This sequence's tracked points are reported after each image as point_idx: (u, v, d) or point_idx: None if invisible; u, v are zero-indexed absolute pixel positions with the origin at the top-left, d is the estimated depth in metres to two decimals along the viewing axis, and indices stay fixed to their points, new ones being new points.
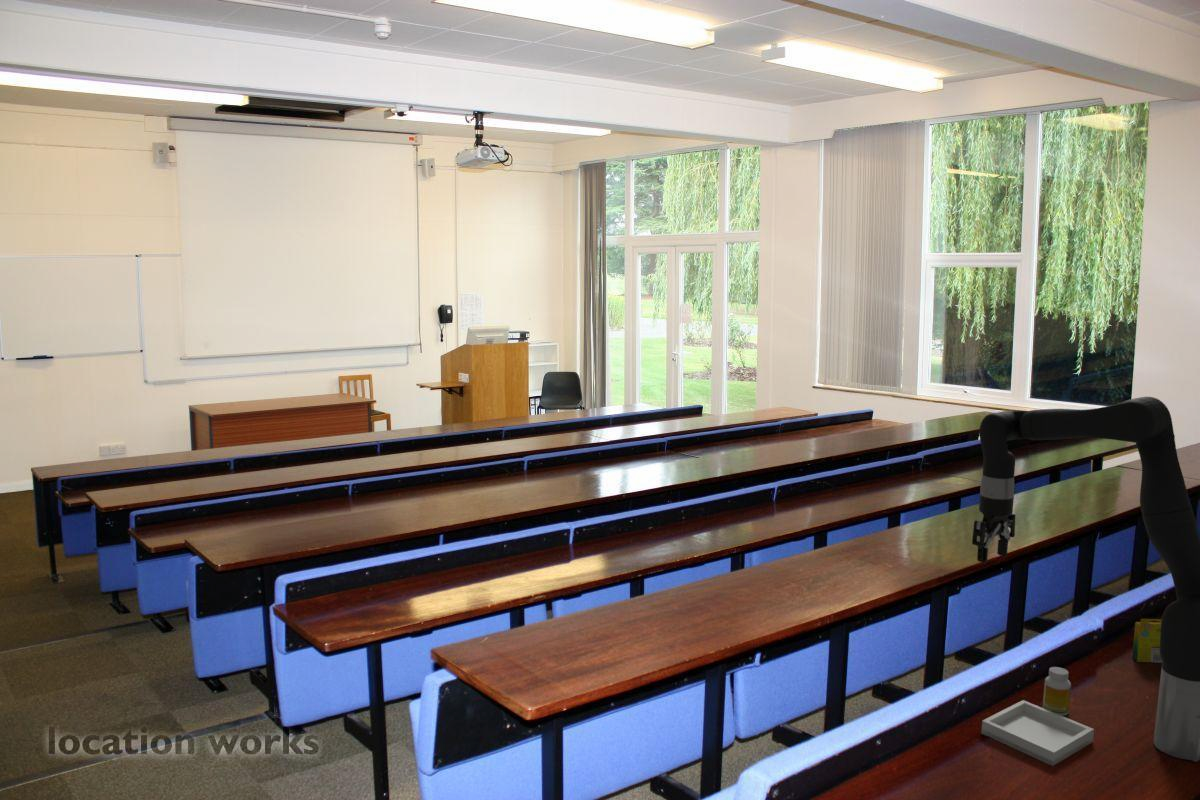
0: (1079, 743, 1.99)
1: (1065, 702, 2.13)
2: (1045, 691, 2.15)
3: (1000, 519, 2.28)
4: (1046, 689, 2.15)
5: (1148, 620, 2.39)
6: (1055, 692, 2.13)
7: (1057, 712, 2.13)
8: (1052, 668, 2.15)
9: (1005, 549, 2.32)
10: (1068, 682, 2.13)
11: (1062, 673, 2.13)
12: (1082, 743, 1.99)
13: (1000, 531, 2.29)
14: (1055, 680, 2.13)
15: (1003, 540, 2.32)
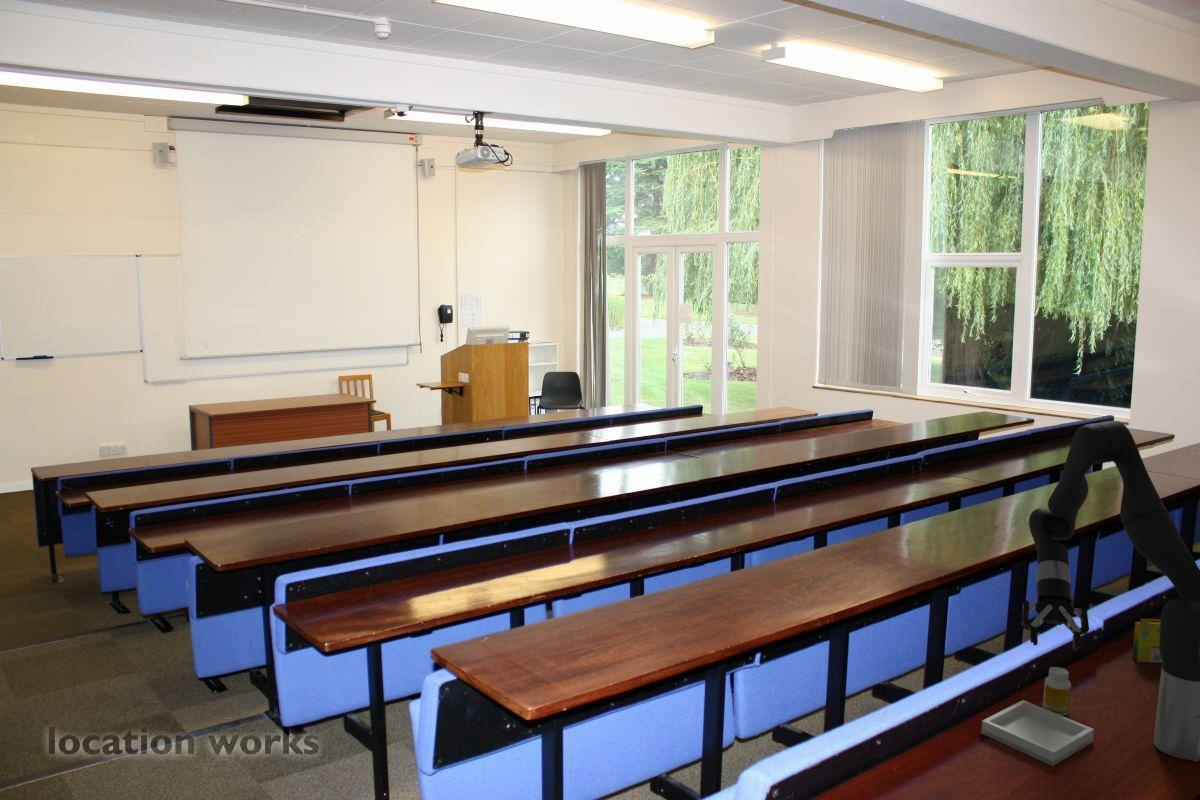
0: (1079, 743, 1.99)
1: (1065, 702, 2.13)
2: (1045, 691, 2.15)
3: (1057, 605, 2.26)
4: (1046, 689, 2.15)
5: (1148, 620, 2.39)
6: (1055, 692, 2.13)
7: (1057, 712, 2.13)
8: (1052, 668, 2.15)
9: (1074, 640, 2.20)
10: (1068, 682, 2.13)
11: (1062, 673, 2.13)
12: (1082, 743, 1.99)
13: (1059, 617, 2.24)
14: (1055, 680, 2.13)
15: (1074, 633, 2.22)
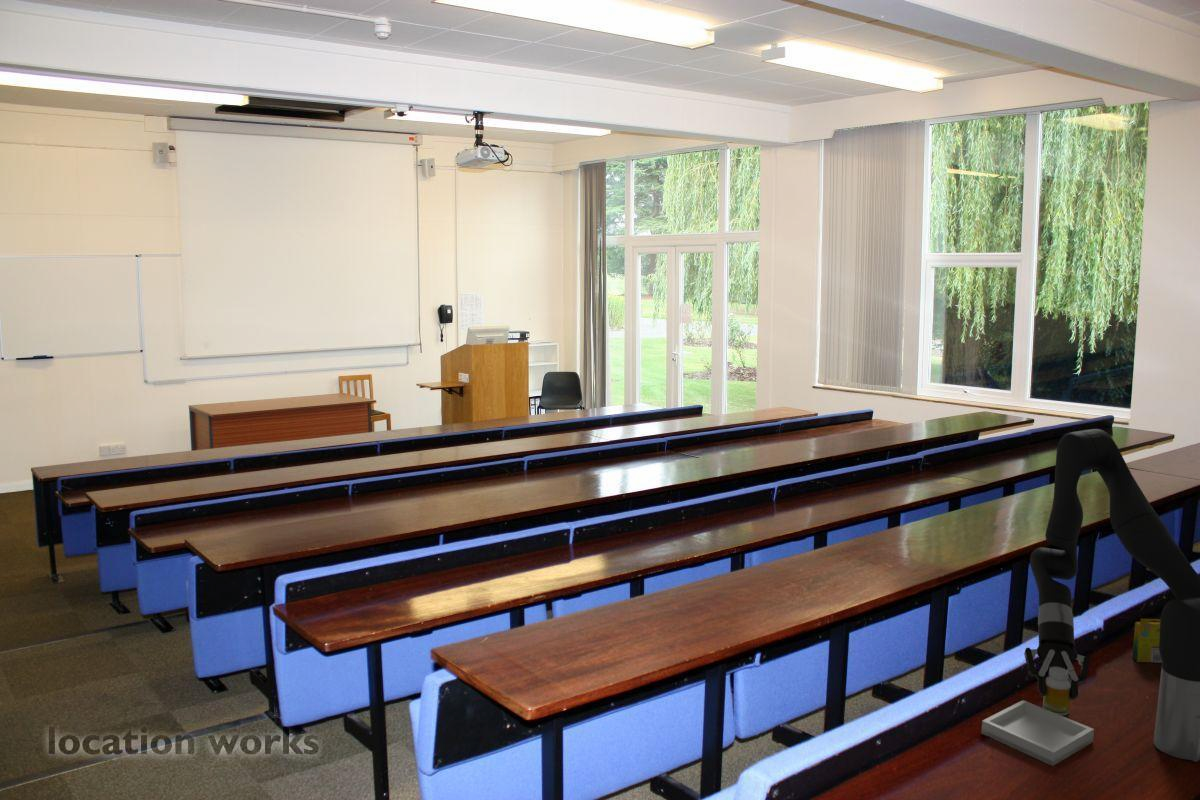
0: (1079, 743, 1.99)
1: (1065, 702, 2.13)
2: None
3: (1059, 650, 2.18)
4: (1046, 689, 2.15)
5: (1148, 620, 2.39)
6: (1055, 692, 2.13)
7: (1057, 712, 2.13)
8: (1052, 668, 2.15)
9: (1071, 689, 2.13)
10: (1068, 682, 2.13)
11: (1062, 673, 2.13)
12: (1082, 743, 1.99)
13: (1059, 662, 2.17)
14: (1055, 680, 2.13)
15: None
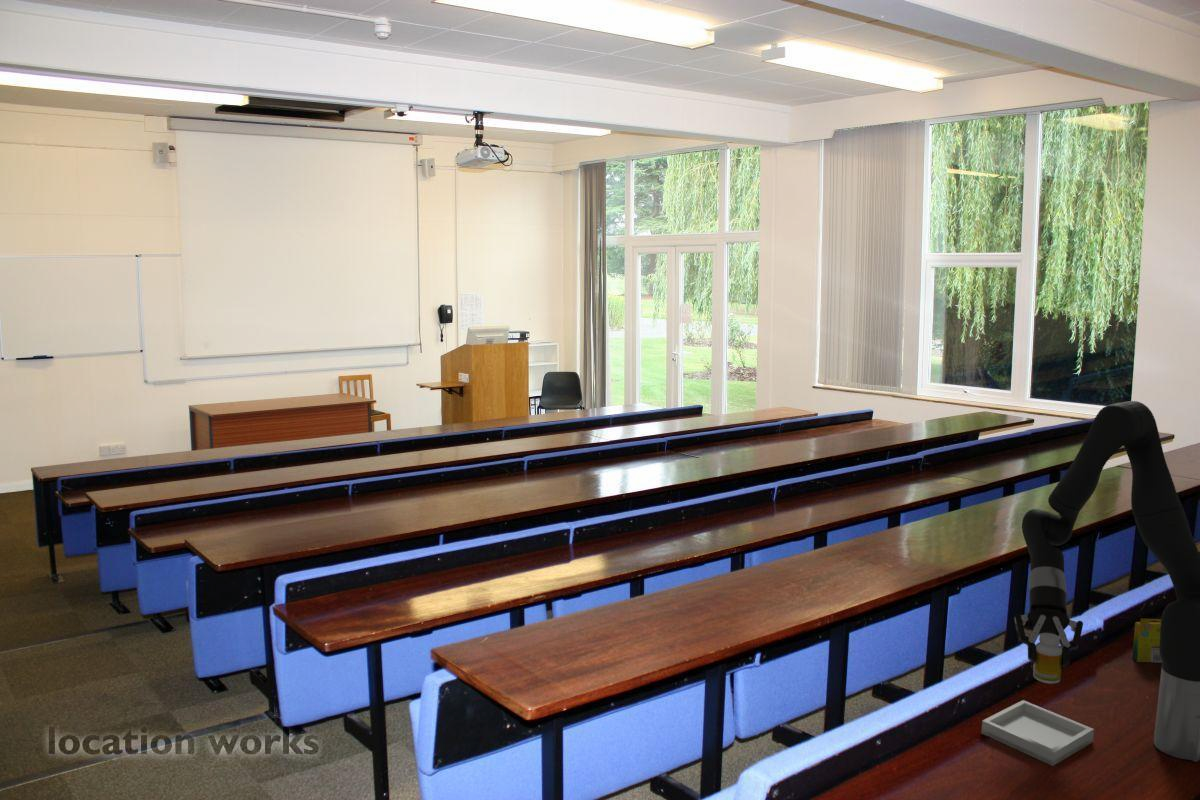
0: (1079, 743, 1.99)
1: (1056, 669, 2.03)
2: None
3: (1051, 615, 2.08)
4: (1036, 656, 2.05)
5: (1148, 620, 2.39)
6: (1046, 659, 2.03)
7: (1048, 680, 2.03)
8: (1043, 634, 2.05)
9: (1063, 656, 2.03)
10: (1059, 648, 2.03)
11: (1053, 639, 2.03)
12: (1082, 743, 1.99)
13: (1050, 628, 2.07)
14: (1046, 646, 2.03)
15: None
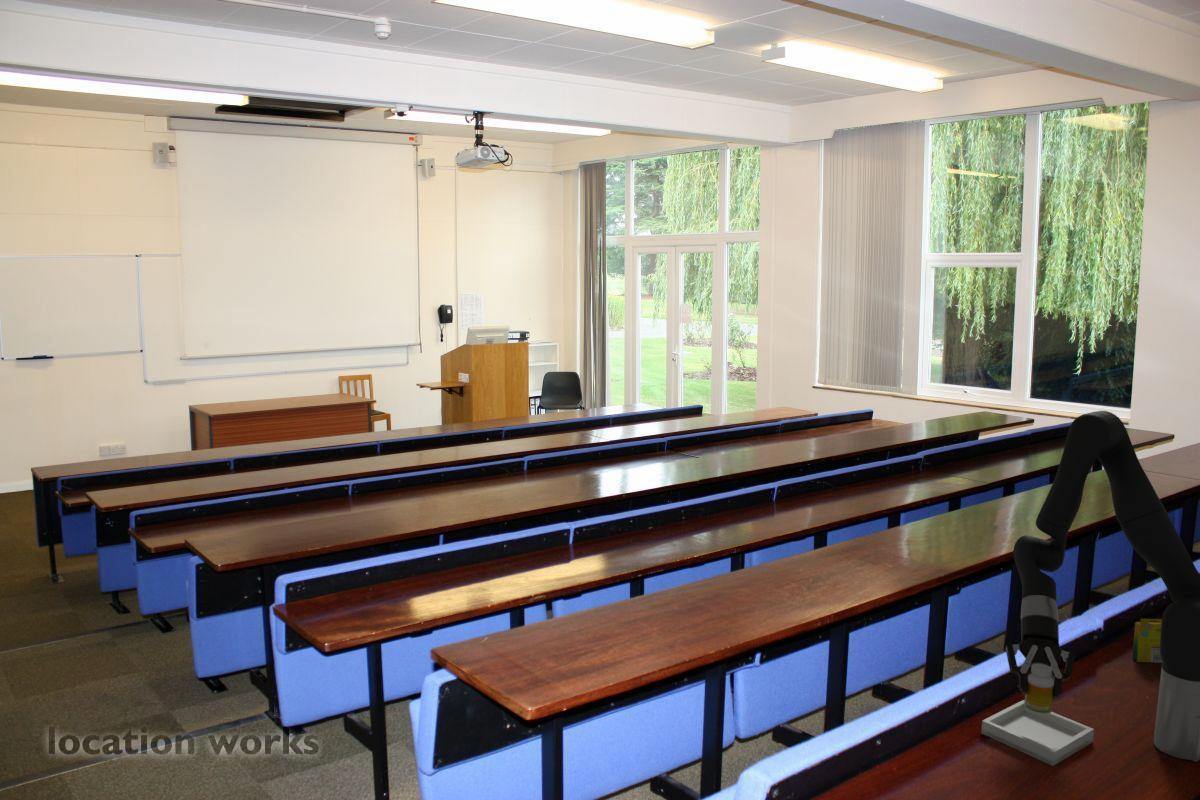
0: (1079, 743, 1.99)
1: (1047, 701, 2.00)
2: (1027, 689, 2.02)
3: (1043, 645, 2.05)
4: (1028, 687, 2.02)
5: (1148, 620, 2.39)
6: (1038, 690, 2.00)
7: (1039, 711, 2.01)
8: (1034, 664, 2.03)
9: (1055, 687, 2.00)
10: (1051, 679, 2.01)
11: (1045, 670, 2.00)
12: (1082, 743, 1.99)
13: (1042, 658, 2.04)
14: (1038, 678, 2.01)
15: None
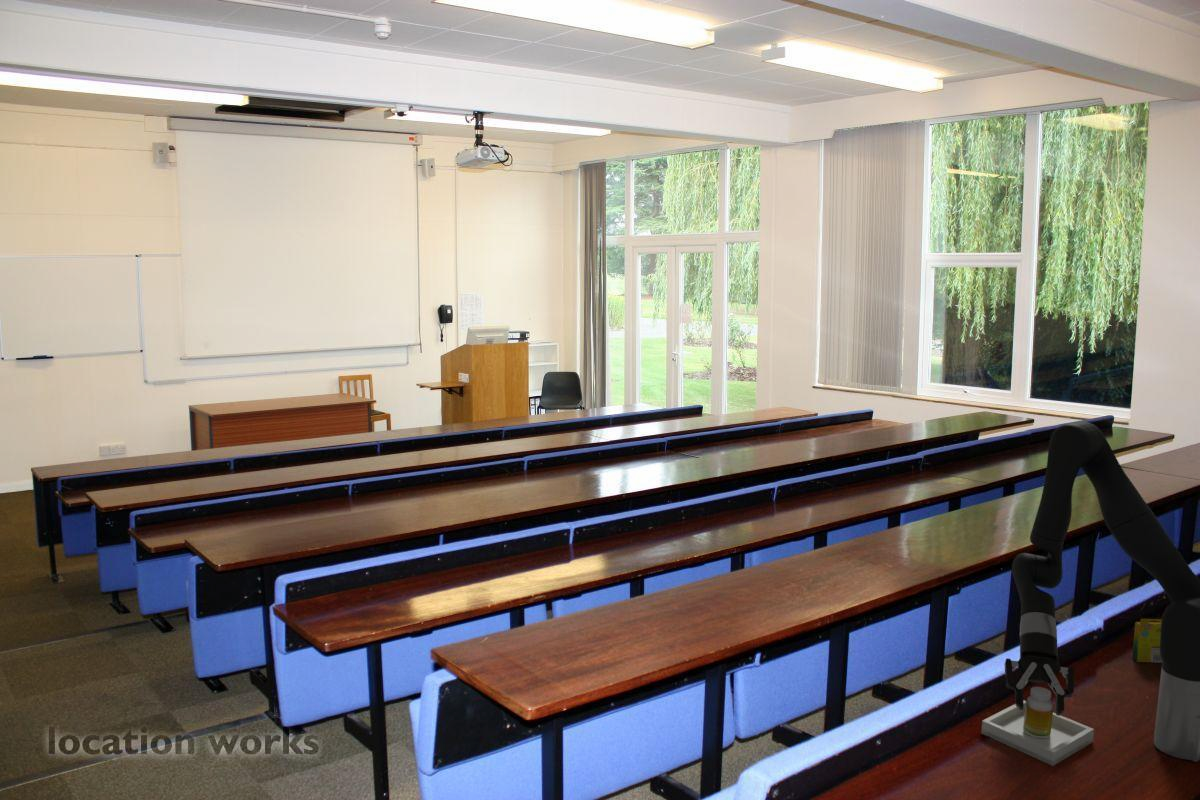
0: (1079, 743, 1.99)
1: (1046, 724, 2.01)
2: (1026, 712, 2.03)
3: (1042, 663, 2.06)
4: (1027, 710, 2.03)
5: (1148, 620, 2.39)
6: (1037, 714, 2.01)
7: (1038, 735, 2.01)
8: (1034, 688, 2.03)
9: (1057, 704, 2.00)
10: (1050, 703, 2.01)
11: (1044, 694, 2.01)
12: (1082, 743, 1.99)
13: (1043, 676, 2.04)
14: (1037, 701, 2.01)
15: (1057, 696, 2.02)
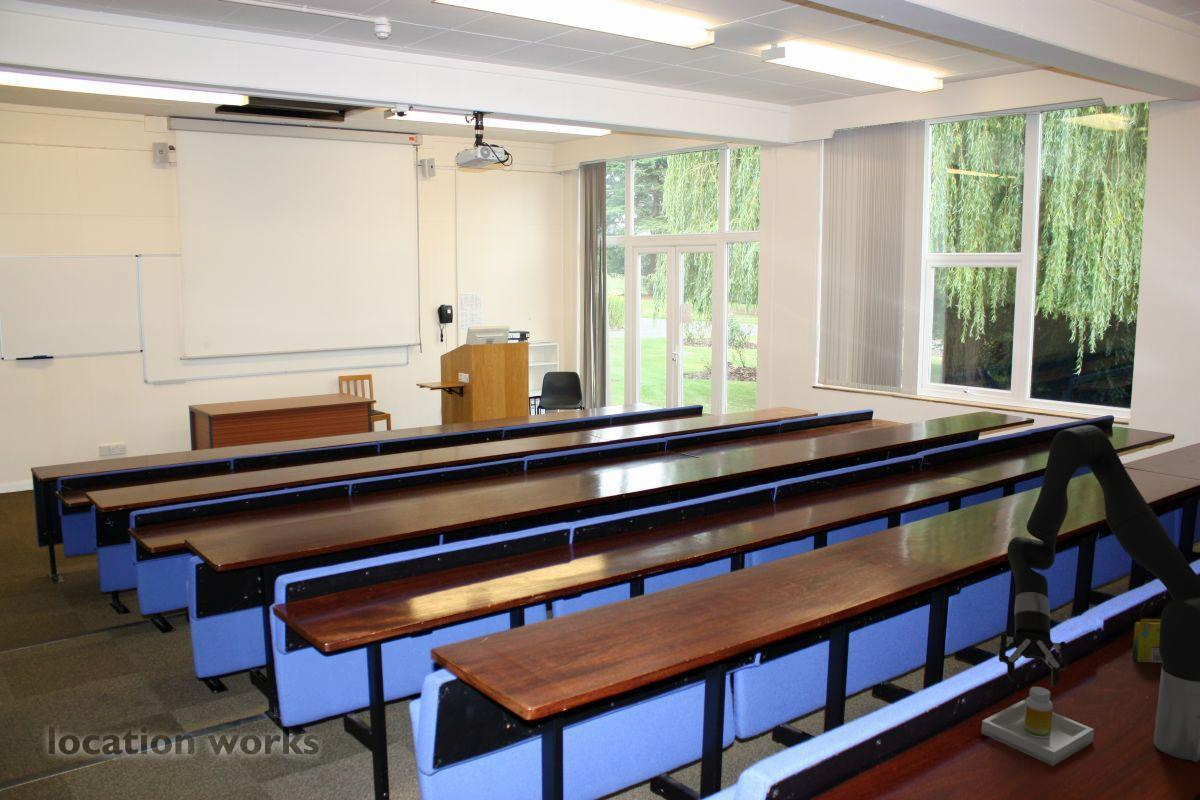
0: (1079, 743, 1.99)
1: (1046, 724, 2.01)
2: (1025, 712, 2.03)
3: (1035, 639, 2.18)
4: (1026, 710, 2.03)
5: (1148, 620, 2.39)
6: (1036, 714, 2.01)
7: (1038, 735, 2.01)
8: (1033, 688, 2.03)
9: (1053, 676, 2.13)
10: (1050, 703, 2.01)
11: (1043, 693, 2.01)
12: (1082, 743, 1.99)
13: (1037, 652, 2.16)
14: (1036, 701, 2.01)
15: (1052, 669, 2.14)
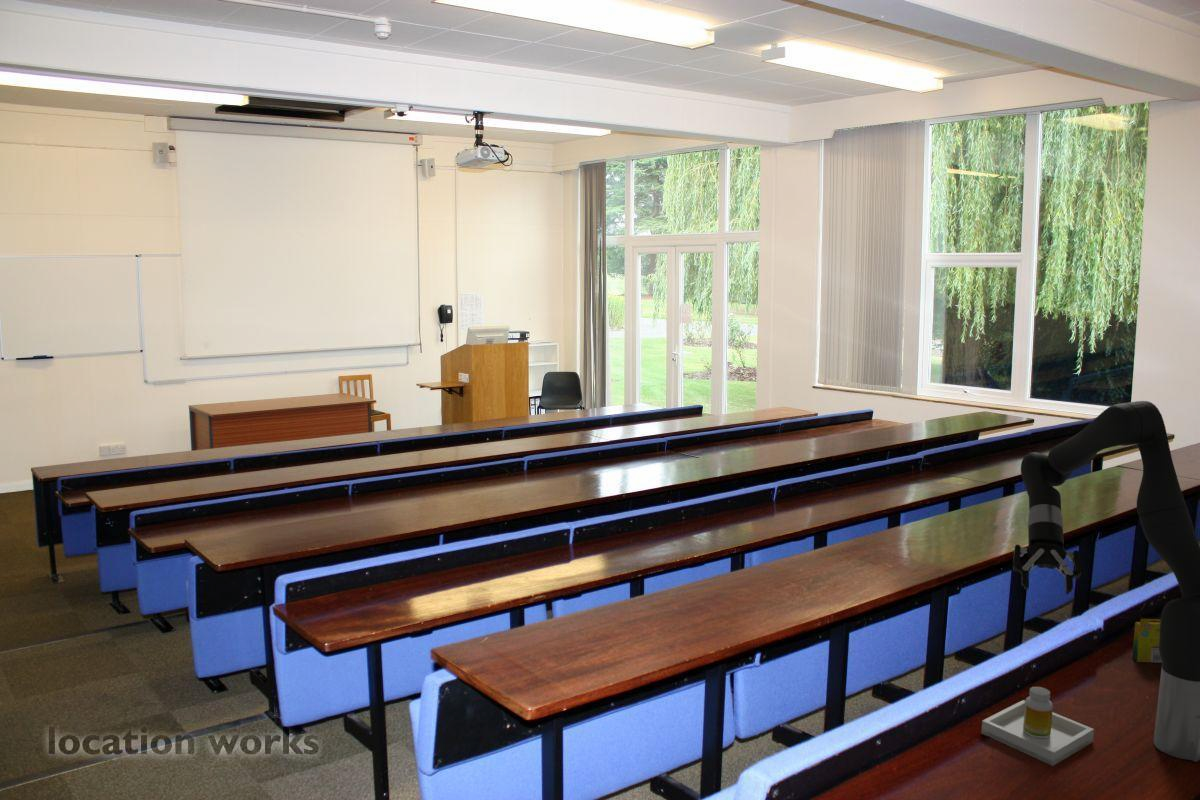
0: (1079, 743, 1.99)
1: (1046, 724, 2.01)
2: (1025, 712, 2.03)
3: (1049, 549, 2.21)
4: (1026, 710, 2.03)
5: (1148, 620, 2.39)
6: (1036, 714, 2.01)
7: (1038, 735, 2.01)
8: (1033, 688, 2.04)
9: (1066, 583, 2.16)
10: (1050, 703, 2.01)
11: (1043, 693, 2.01)
12: (1082, 743, 1.99)
13: (1051, 561, 2.19)
14: (1036, 701, 2.01)
15: (1066, 576, 2.17)
